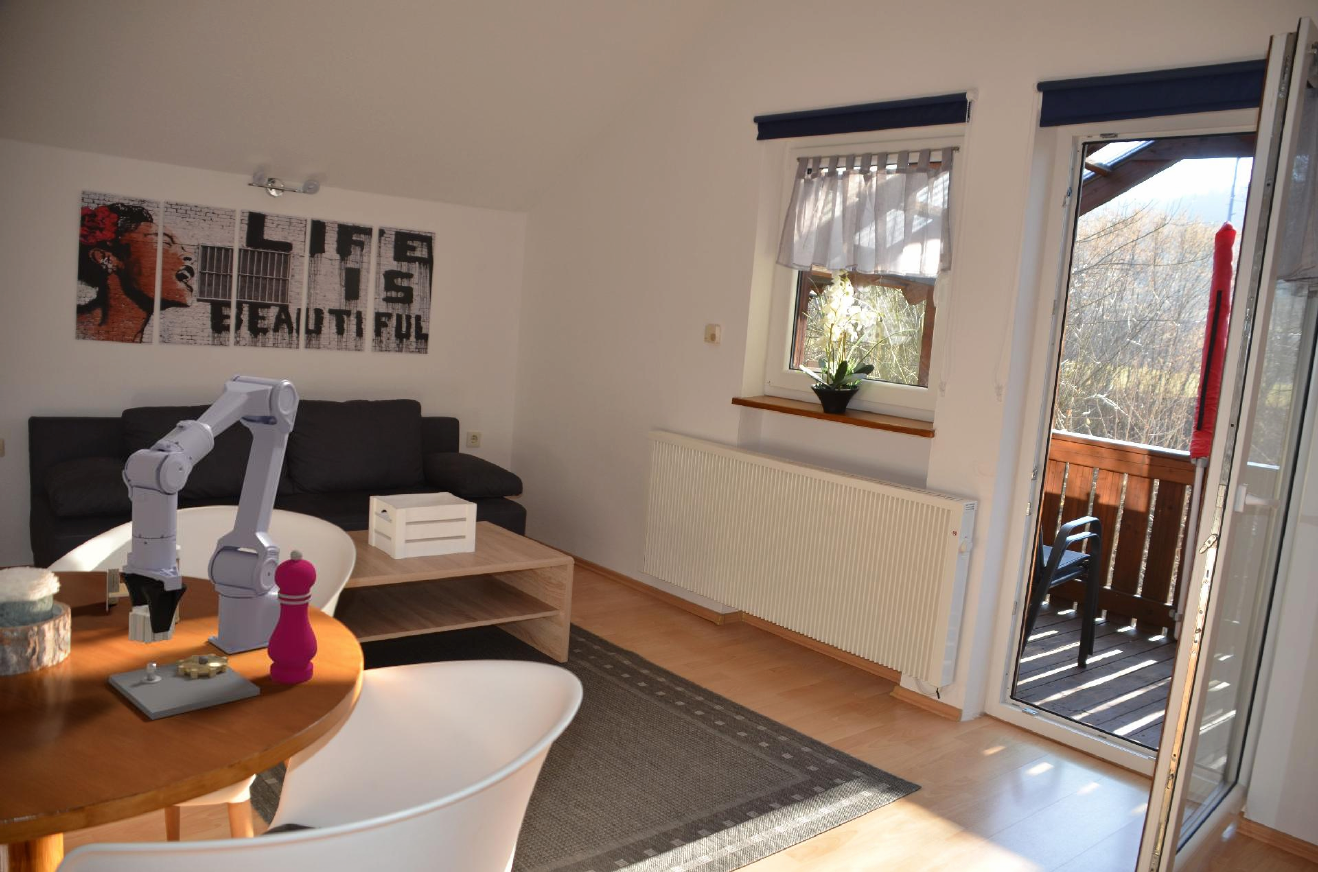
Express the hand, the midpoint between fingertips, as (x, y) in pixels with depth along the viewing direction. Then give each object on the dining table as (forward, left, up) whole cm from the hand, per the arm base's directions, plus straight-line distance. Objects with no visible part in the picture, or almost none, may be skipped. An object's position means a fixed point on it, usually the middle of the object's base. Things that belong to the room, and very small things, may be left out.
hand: (152, 625), depth 146 cm
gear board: (-4, +3, -9) cm, 10 cm away
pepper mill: (-18, +7, -10) cm, 22 cm away
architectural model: (-8, -39, -10) cm, 41 cm away
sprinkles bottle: (-12, -26, -10) cm, 30 cm away
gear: (0, 0, -2) cm, 2 cm away
